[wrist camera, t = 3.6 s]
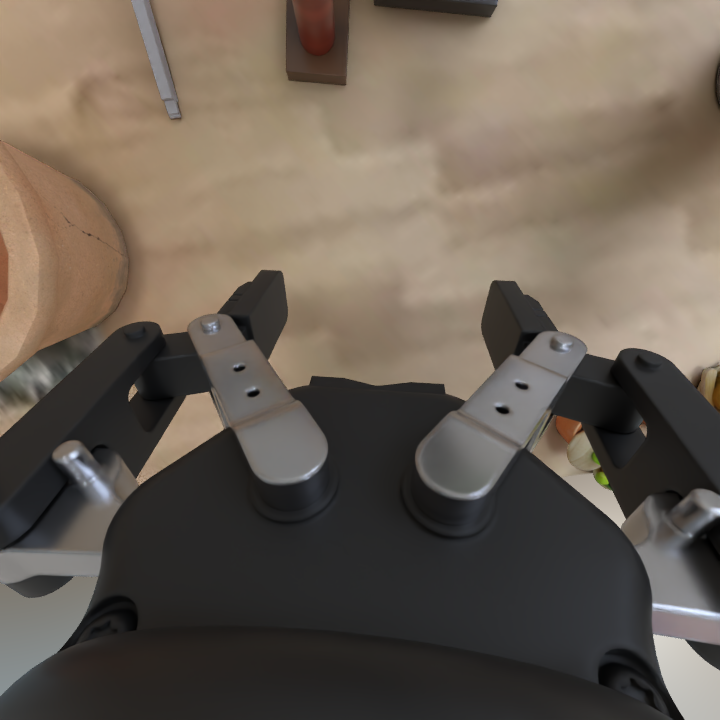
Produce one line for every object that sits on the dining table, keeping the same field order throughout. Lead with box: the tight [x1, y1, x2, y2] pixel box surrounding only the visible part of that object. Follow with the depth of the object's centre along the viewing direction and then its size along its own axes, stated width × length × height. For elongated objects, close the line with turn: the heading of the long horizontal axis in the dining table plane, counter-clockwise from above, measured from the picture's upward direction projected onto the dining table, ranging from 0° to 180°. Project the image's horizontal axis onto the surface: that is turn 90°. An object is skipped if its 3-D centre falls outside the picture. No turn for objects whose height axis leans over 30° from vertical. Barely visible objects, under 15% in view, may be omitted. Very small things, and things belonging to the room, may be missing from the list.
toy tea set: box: [556, 366, 720, 490], centre depth 39 cm, size 26×16×10 cm, turn 101°
